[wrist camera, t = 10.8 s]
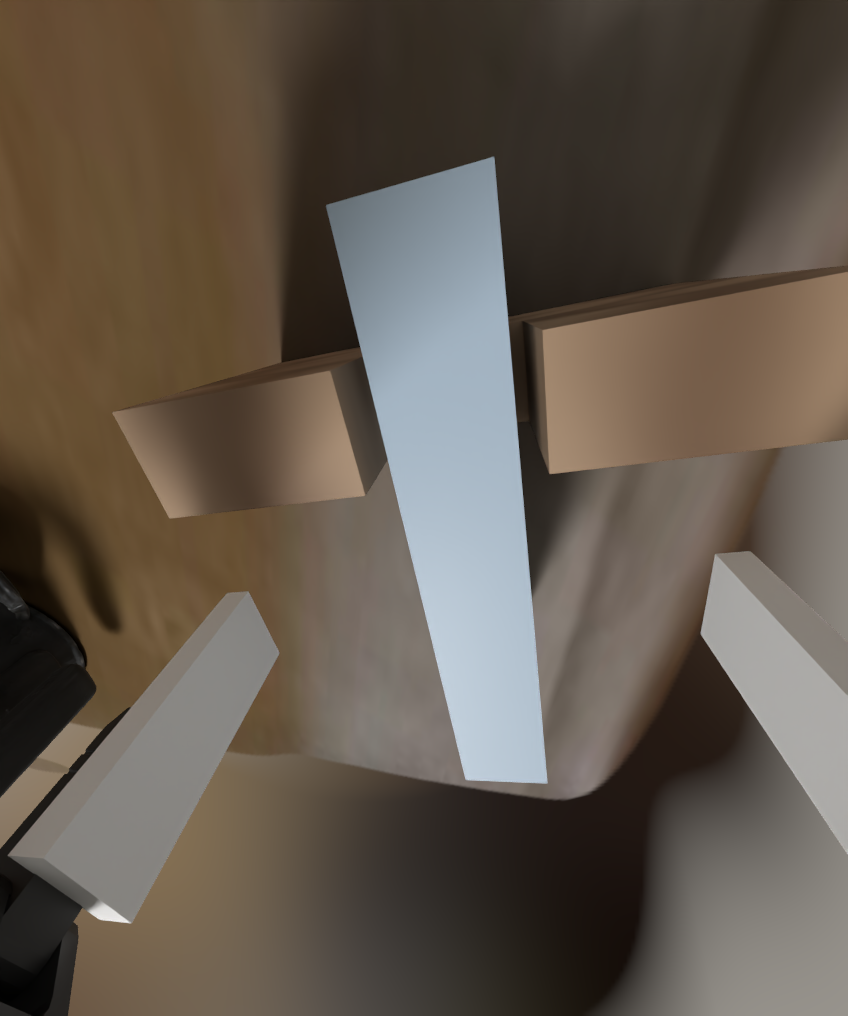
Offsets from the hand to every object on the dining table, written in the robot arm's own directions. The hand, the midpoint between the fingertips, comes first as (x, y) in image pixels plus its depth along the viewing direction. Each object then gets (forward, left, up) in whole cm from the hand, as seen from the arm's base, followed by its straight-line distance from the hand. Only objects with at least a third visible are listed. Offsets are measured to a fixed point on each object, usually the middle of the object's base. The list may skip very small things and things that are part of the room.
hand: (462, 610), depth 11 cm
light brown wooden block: (-6, 0, -9) cm, 10 cm away
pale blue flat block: (-1, 0, -9) cm, 9 cm away
